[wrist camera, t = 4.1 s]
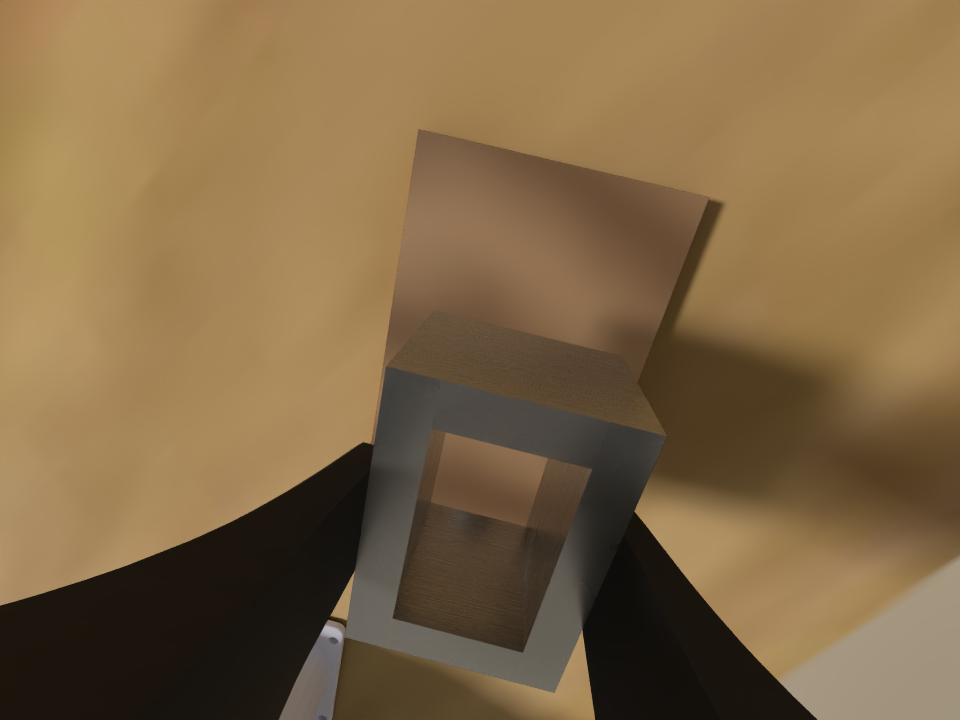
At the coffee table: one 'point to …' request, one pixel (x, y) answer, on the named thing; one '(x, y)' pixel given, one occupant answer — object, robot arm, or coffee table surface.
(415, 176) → the keeper board
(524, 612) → the steel link
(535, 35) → the coffee table surface
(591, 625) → the robot arm
